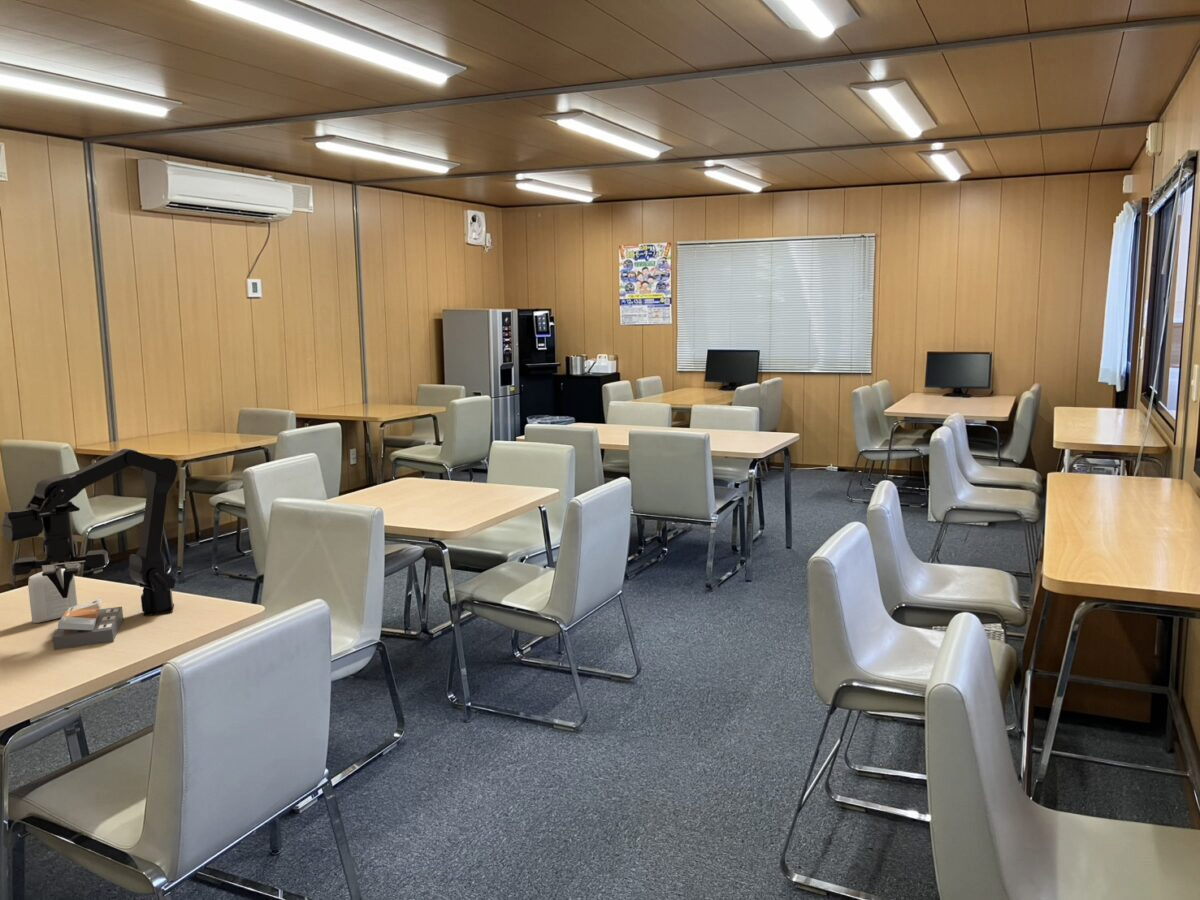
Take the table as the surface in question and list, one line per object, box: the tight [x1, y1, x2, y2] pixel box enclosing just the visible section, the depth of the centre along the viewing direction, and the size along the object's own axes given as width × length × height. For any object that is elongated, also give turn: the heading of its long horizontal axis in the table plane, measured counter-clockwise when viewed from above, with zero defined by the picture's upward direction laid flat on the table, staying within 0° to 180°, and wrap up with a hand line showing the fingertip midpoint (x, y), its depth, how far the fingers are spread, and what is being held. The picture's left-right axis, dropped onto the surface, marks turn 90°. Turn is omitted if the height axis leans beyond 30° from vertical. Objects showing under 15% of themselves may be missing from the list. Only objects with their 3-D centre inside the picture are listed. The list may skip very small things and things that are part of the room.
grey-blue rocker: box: [57, 617, 96, 630], centre depth 207 cm, size 7×5×2 cm, turn 112°
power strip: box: [51, 606, 124, 651], centre depth 214 cm, size 12×18×4 cm, turn 21°
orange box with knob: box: [63, 608, 99, 619], centre depth 213 cm, size 7×5×2 cm, turn 111°
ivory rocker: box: [67, 597, 103, 612], centre depth 218 cm, size 7×5×2 cm, turn 111°
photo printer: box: [27, 568, 79, 624], centre depth 225 cm, size 10×4×12 cm, turn 135°
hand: (65, 597), depth 211 cm, fingers closed
